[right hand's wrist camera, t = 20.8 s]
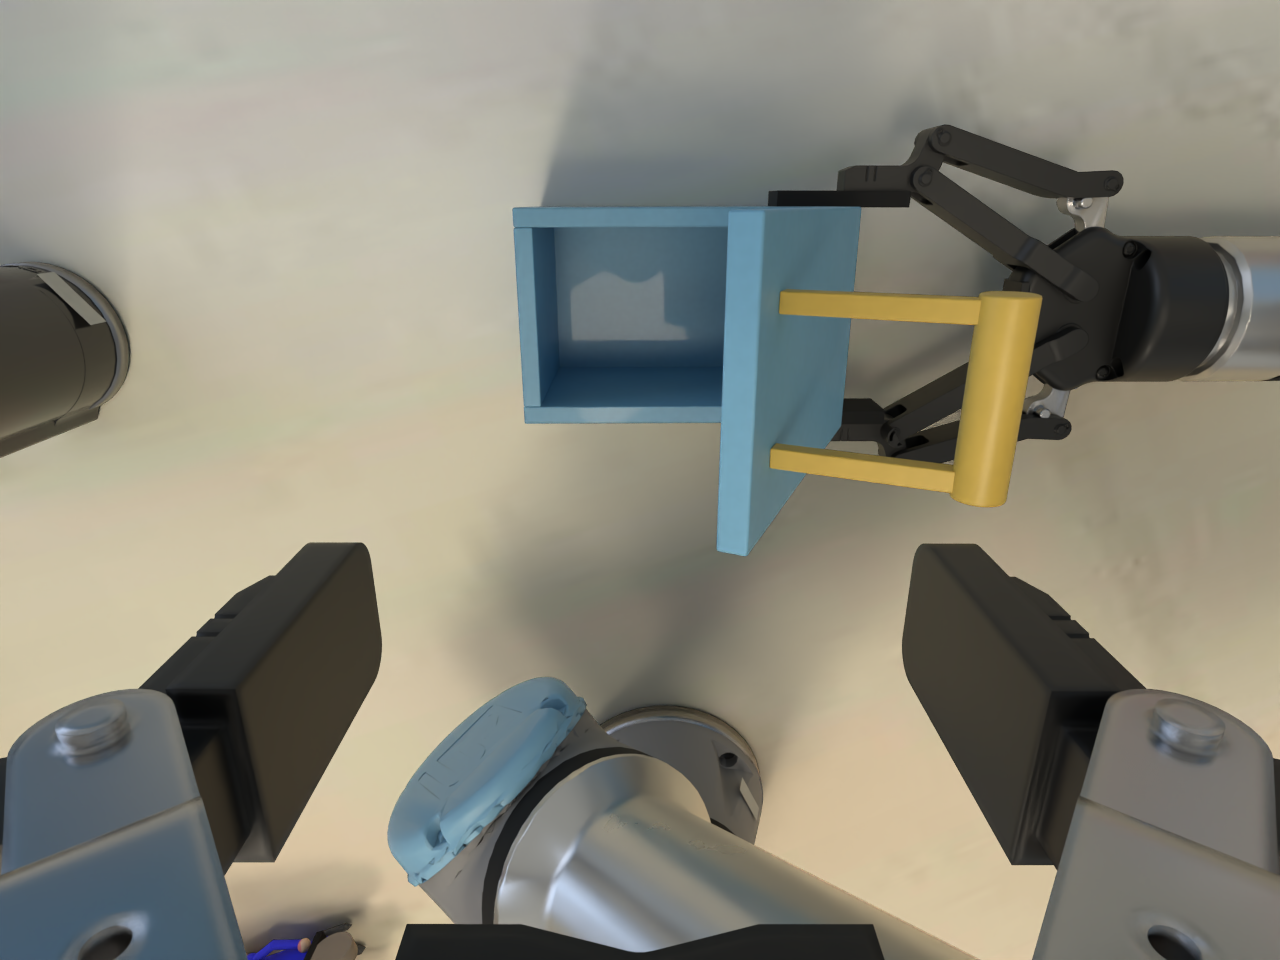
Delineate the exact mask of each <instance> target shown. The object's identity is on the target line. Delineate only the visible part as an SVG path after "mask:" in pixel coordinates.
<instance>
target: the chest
mask: <svg viewBox="0 0 1280 960" xmlns="http://www.w3.org/2000/svg"><path fill="white" fill-rule="evenodd" d="M810 207H838V206H807V207H773V206H596V207H518V208H513V225H514V227H515V228H514V243H515V261H516V278H517V295H518V312H519V329H520V347H521V364H522V381H523V398H524V406H525V407H524V416H525V423H526V424H536V423H721V410H722V382H723V354H724V326H725V298H726V271H727V243H728V215H729V211H730V210H737V209H773V208H810Z"/></svg>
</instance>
